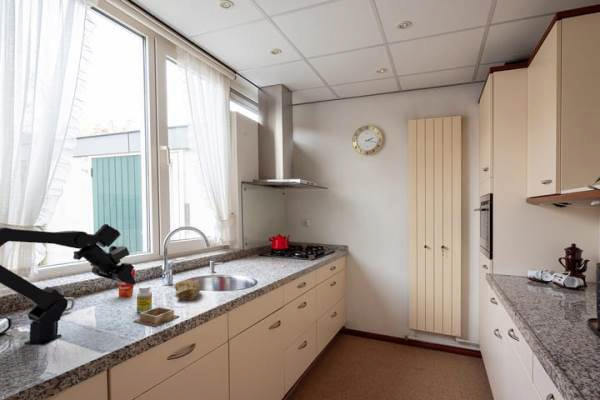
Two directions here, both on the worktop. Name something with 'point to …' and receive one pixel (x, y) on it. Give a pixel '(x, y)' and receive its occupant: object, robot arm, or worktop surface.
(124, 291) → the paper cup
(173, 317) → the walnut collar
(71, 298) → the mug
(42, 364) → the worktop surface
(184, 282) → the sponge
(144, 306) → the supplement bottle
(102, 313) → the worktop surface
